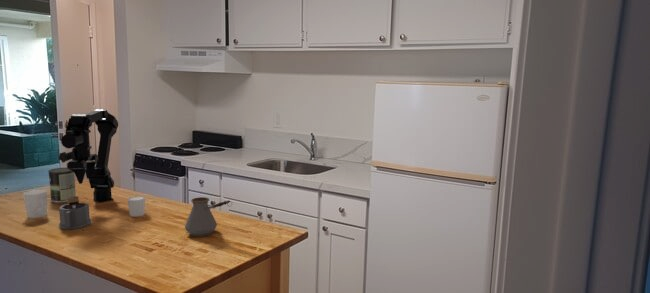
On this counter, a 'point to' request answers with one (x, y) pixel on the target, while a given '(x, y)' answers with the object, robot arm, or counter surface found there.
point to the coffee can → (61, 184)
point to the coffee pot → (202, 217)
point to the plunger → (73, 201)
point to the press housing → (74, 216)
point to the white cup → (36, 203)
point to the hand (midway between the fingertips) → (84, 181)
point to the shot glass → (136, 206)
